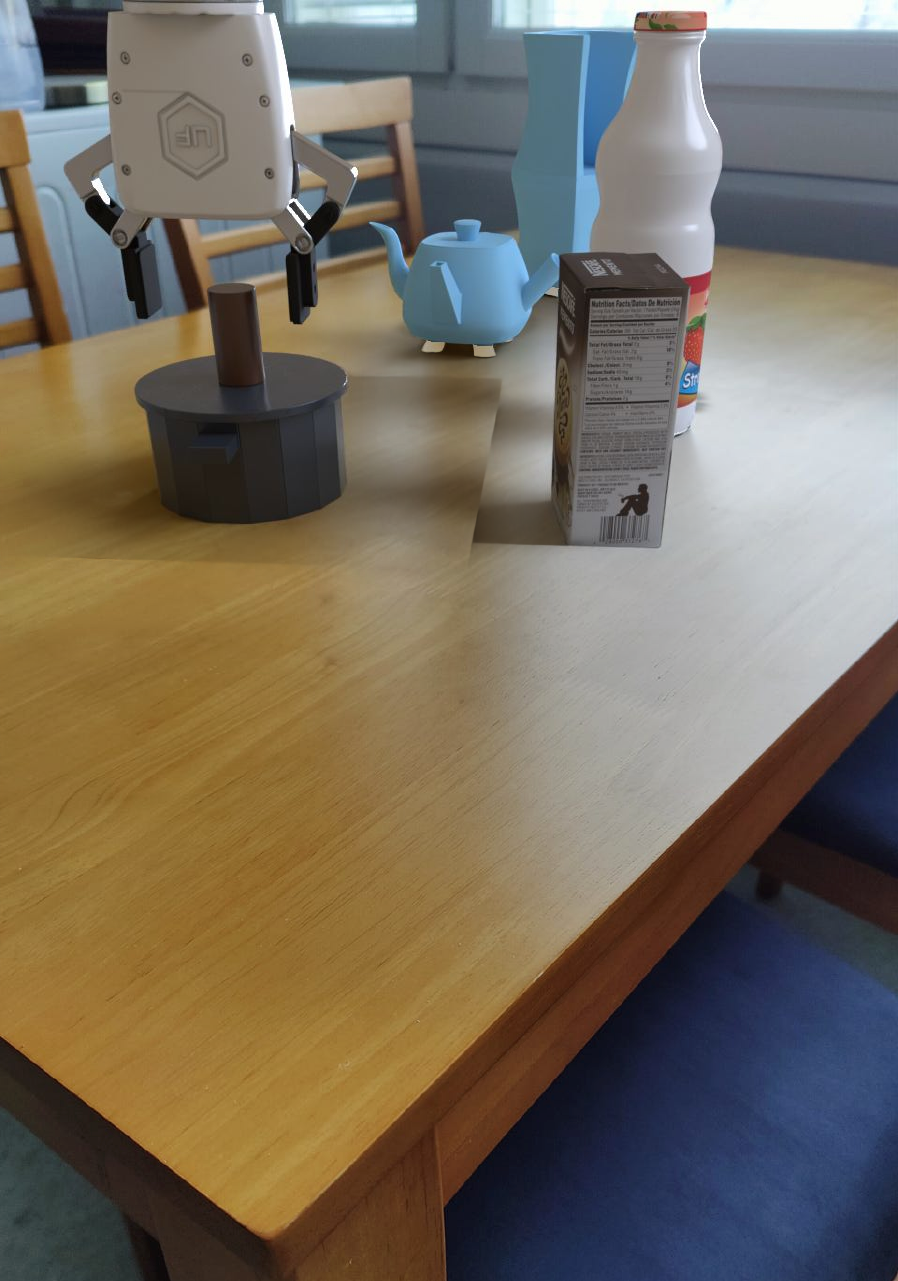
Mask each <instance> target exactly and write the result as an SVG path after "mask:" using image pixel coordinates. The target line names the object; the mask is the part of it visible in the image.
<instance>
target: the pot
mask: <svg viewBox="0 0 898 1281" xmlns="http://www.w3.org/2000/svg"><path fill="white" fill-rule="evenodd" d="M342 404H343V402H342V397H341V398H339V399H338V400H336V401H335V402H333V403H331V404H329V405H327V406H325V407H323V408H320V409H317V410H314V411H311V412H308V413H304V414H300V415H296V416H291V417H287V418H281V419H275V420H268V421H260V422H248V423H198V422H188V421H181V420H175V419H170V418H165V417H162V416H159V415H155V414H153V413H151V412H148V411H147V410H145V409H144V414H145V421H146V427H147V431H148V438H149V443H150V449H151V450H150V451H151V456H152V461H153V467H154V473H155V479H156V485H157V490H158V491H157V492H158V496H159V499H160V502H161V506H162V507H164V508H166V509H167V510H169V511H171V512H172V513H174V514H175V515H177V516H178V517H181V518H185V519H190V520H194V521H198V522H199V521H200V522H203V523H204V522H205V523H209V524H223V525H224V524H225V525H226V524H227V525H229V524H230V525H254V524H262V523H270V522H278V521H285V520H292V519H295V518H297V517H301V516H304V515H307V514H310V513H311V514H312V513H314V512H318V511H320V510H322V509H324V508H326V507H327V506H329V505H330V504H332V503H333V502H335V501H336V500H338V499H339V498H341V497H342V495H343V493H344V491H345V488H346V486H347V484H348V480H347V466H346V465H347V464H346V451H345V450H346V449H345V436H344V435H345V434H344V420H343V419H344V418H343V406H342Z"/></svg>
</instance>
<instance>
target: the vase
mask: <svg viewBox="0 0 898 1281" xmlns="http://www.w3.org/2000/svg"><path fill="white" fill-rule="evenodd" d="M634 32H635V30H631V31H630V30H605V29H604V30H600V29H565V30H549V31H530V32H529V31H528V32H523V33H522V40H523V48H524V53H525V61H526V69H527V82H528V84H527V85H528V104H527V105H528V106H527V111H526V112H527V113H526V119H525V124H524V129H523V133H522V136H521V140H520V143H519V145H518V146H519V147H518V150H517V153H516V155H515V158H514V161H513V164H512V167H511V178H510V179H511V185H512V188H513V189H512V190H513V194H514V200H515V205H516V213H517V220H518V243H517V245H518V247H519V250H520V253H521V255H522V258H523V261H524V263H525V266H526V270H527V273H528V277H529V279H530V278H531V277H532V276H533V275H534V274H535V272H536V271H537V270H538V269H539V268H540V267H541V266H542V265H543V263H544V262H545V261H546V260H547V259H548V258H549V257H550V255H551V254H552V253H554V254H557V255H558V256H559V255H561V254H567V253H586V252H588V251H589V242H590V235H591V229H592V225H593V222H594V220H595V217H596V215H597V213H598V209H599V203H600V196H599V190H598V185H597V179H596V171H595V163H596V155H597V149H598V145H599V142H600V139H601V137H602V135H603V134H604V132H605V130H606V129H607V127H608V126H609V124H610V123H611V122H612V120H613V119H614V118H615V116H616V115H617V113H618V112H619V110H620V108H621V106H622V104H623V102H624V99H625V96H626V94H627V91H628V88H629V85H630V82H631V78H632V75H633V72H634V67H635V63H636V57H637V42H636V41H634V36H635V34H634ZM552 287H555V288H559V279H558V280H557V281H556V283H555V284H554V285H553V286H552Z"/></svg>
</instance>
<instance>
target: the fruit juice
mask: <svg viewBox="0 0 898 1281" xmlns="http://www.w3.org/2000/svg"><path fill="white" fill-rule="evenodd" d="M707 30H708V13H707V11H702V10H649V11H648V10H647V11H639V12H636V14H635V17H634V24H633V31H635V32H634V34H635V36H634V41H636V42H637V57H636V63H635V67H634V71H633V75H632V78H631V82H630V85H629V88H628V91H627V94H626V96H625V99H624V102H623V104H622V106H621V108H620V110H619V112H618V113H617V115H616V116H615V118H614V119H613V120H612V122H611V123H610V124H609V126H608V127H607V129H606V130H605V132H604V134H603V135H602V137H601V139H600V142H599V145H598V149H597V155H596V163H595V171H596V179H597V185H598V190H599V196H600V203H599V209H598V213H597V215H596V217H595V220H594V222H593V225H592V229H591V235H590V242H589V251H588V252H616V253H626V254H640V253H657V254H658V255H659V256H660V257H661V258H662V259H663V260H664V261H665V262H666V263H667V264H668V265H669V266H670V267H671V268H672V269H673V270H674V271H675V272H676V273H677V274H678V275H679V276H680V277H681V278H683V279H684V280H685V281H686V282H687V283H688V284H689V285H690V286H691V288H690V296H689V305H688V315H687V324H686V333H685V342H684V351H683V361H682V370H681V378H680V387H679V396H678V404H677V413H676V422H675V430H674V433H677V432H681V431H683V430H685V429H687V428H688V427H689V426H690V425H691V426H692V424H693V421H694V417H695V414H696V408H697V398H698V390H699V381H700V375H701V374H700V372H701V365H702V358H703V357H702V356H703V355H702V354H703V348H704V347H703V346H704V338H705V331H706V321H707V312H708V305H709V304H708V303H709V295H710V286H711V279H712V278H711V277H712V272H713V271H712V270H713V264H714V256H715V255H714V254H715V234H716V233H715V224H714V220H713V217H712V209H711V207H712V200H713V197H714V193H715V190H716V188H717V185H718V182H719V179H720V176H721V172H722V169H723V156H724V155H723V154H724V152H723V143H722V138H721V135H720V132H719V131H718V129H717V127H716V125H715V124H714V122H713V120H712V118H711V117H710V114H709V112H708V110H707V106H706V104H705V99H704V94H703V88H702V87H703V86H702V80H701V73H700V50H701V44H702V43H703V42H704V41H705V39H706V33H707V32H706V31H707ZM691 426H690V427H691Z"/></svg>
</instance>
